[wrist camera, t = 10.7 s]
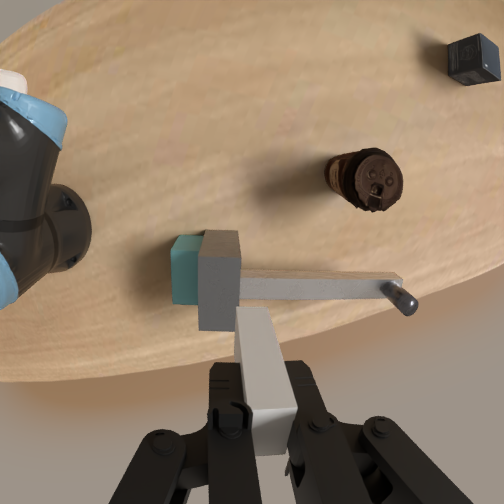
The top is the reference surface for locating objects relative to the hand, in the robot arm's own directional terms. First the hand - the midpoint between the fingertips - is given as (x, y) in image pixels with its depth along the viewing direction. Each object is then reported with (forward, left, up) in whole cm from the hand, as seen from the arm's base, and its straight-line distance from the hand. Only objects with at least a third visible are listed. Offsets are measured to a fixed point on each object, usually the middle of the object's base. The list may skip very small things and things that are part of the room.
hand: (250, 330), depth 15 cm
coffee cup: (+17, +7, -34) cm, 38 cm away
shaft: (+12, -8, -26) cm, 30 cm away
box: (+42, +34, -34) cm, 63 cm away
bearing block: (-2, -8, -33) cm, 34 cm away
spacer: (-7, -8, -34) cm, 35 cm away
